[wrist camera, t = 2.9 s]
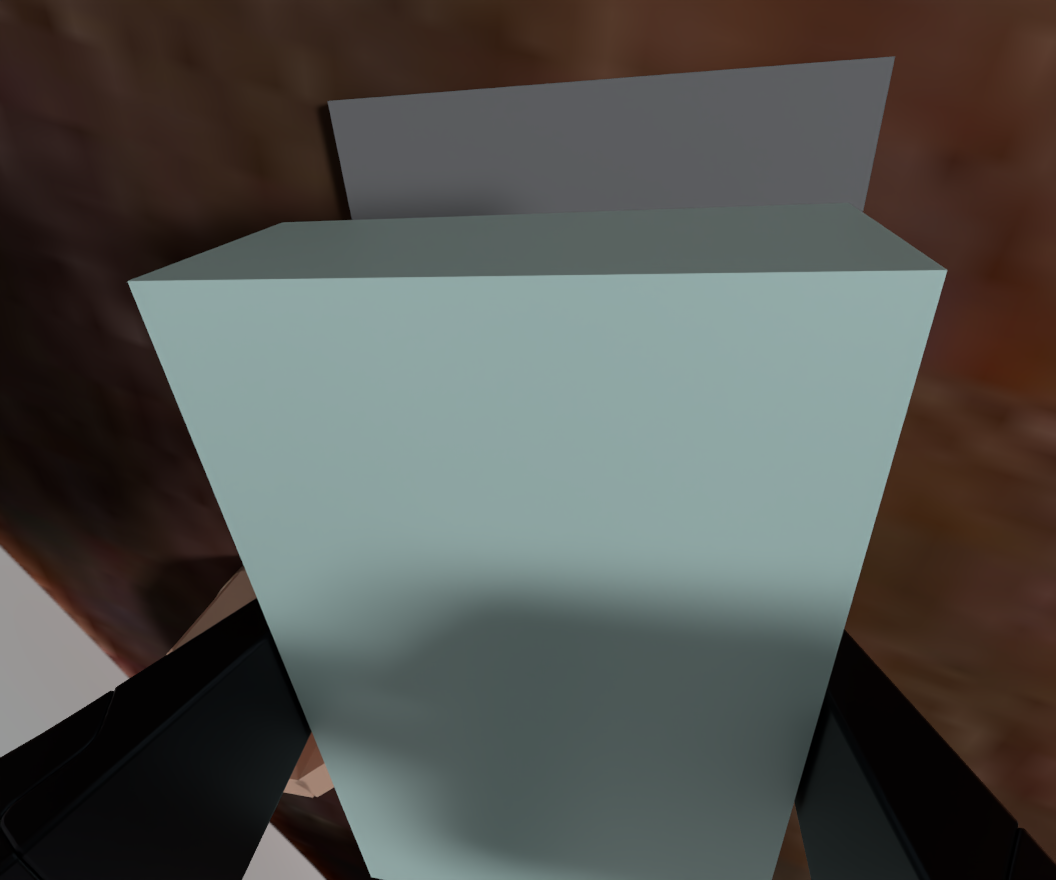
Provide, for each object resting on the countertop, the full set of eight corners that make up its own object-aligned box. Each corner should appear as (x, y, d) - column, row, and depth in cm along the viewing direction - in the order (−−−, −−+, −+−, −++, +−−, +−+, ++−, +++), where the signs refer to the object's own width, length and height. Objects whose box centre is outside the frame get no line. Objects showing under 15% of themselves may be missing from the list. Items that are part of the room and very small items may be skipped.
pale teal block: (734, 792, 12) (749, 954, 10) (419, 744, 13) (371, 876, 11) (848, 202, 6) (946, 269, 4) (282, 221, 8) (127, 281, 5)
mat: (769, 633, 17) (772, 649, 17) (439, 599, 19) (433, 614, 19) (883, 57, 10) (895, 56, 10) (341, 99, 12) (327, 101, 12)
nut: (416, 698, 22) (372, 809, 19) (259, 676, 24) (191, 776, 20) (382, 565, 19) (321, 670, 16) (201, 548, 20) (108, 642, 17)
